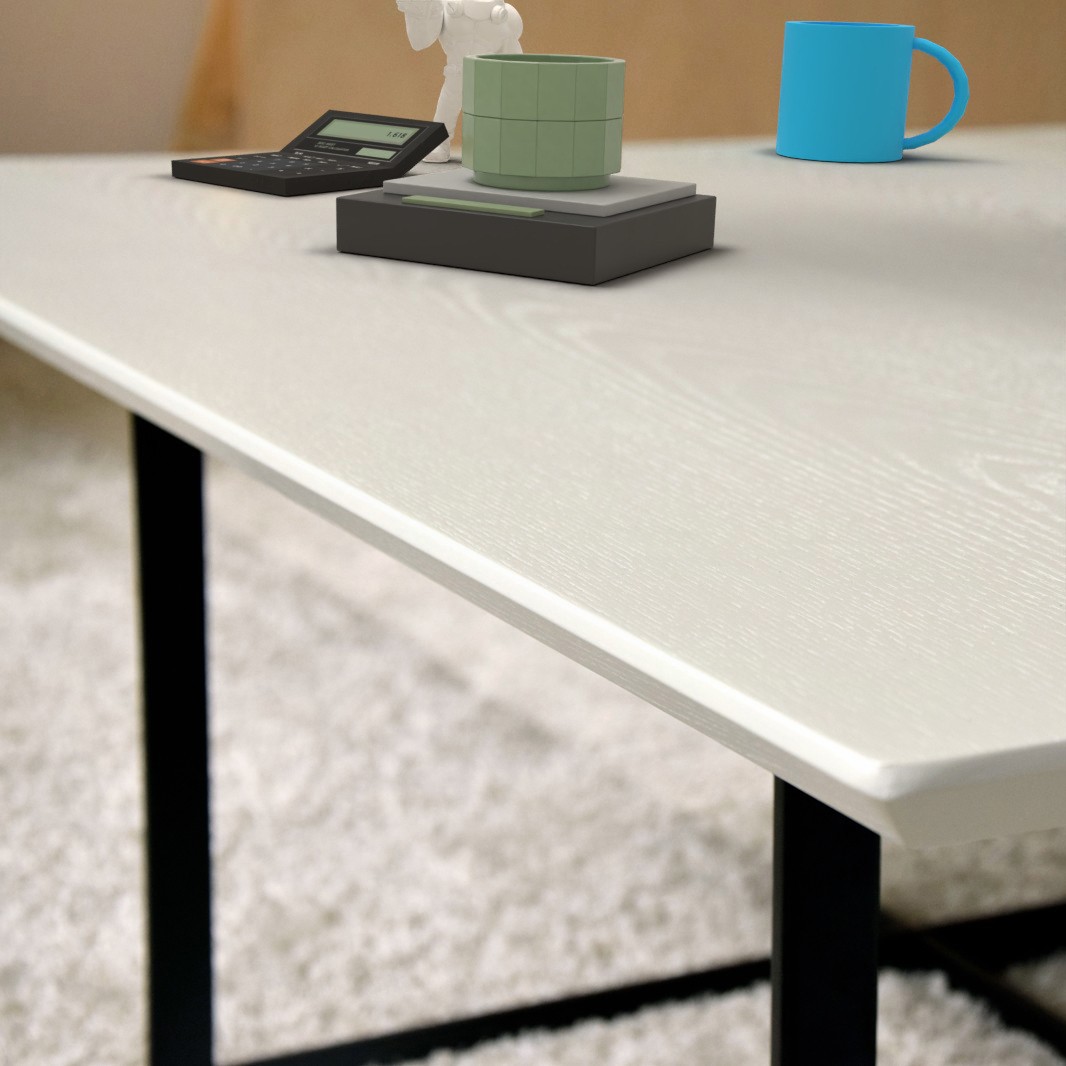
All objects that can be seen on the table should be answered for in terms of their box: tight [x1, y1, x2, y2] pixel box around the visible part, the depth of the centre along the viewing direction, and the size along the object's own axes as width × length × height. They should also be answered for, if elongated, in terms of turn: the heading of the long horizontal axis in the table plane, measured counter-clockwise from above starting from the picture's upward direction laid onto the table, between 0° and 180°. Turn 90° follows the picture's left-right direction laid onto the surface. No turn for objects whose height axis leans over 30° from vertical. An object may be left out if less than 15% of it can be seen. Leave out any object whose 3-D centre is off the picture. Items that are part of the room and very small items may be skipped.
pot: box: [461, 52, 627, 191], centre depth 67 cm, size 7×7×5 cm
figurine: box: [395, 0, 524, 163], centre depth 96 cm, size 10×5×12 cm, turn 127°
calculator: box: [170, 109, 449, 197], centre depth 88 cm, size 9×12×3 cm
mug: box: [775, 20, 970, 163], centre depth 105 cm, size 12×8×8 cm
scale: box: [335, 167, 717, 286], centre depth 68 cm, size 12×11×3 cm
